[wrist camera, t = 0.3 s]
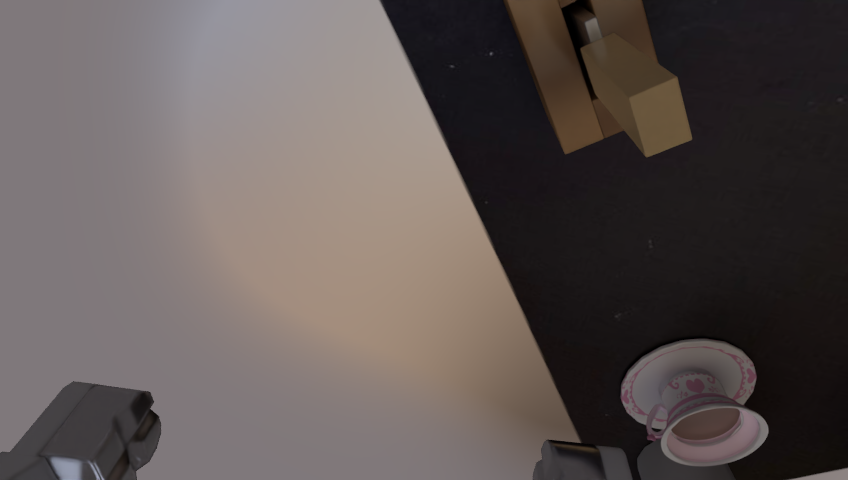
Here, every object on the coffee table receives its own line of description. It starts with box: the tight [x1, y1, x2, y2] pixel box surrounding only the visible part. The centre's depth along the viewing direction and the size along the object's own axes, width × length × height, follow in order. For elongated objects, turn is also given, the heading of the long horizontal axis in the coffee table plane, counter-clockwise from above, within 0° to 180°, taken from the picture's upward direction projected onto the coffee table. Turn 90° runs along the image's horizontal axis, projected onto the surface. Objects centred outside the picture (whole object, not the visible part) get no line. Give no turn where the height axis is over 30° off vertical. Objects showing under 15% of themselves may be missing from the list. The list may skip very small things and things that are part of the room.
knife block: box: [503, 0, 658, 154], centre depth 30 cm, size 10×6×7 cm, turn 26°
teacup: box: [620, 338, 768, 466], centre depth 46 cm, size 12×12×6 cm
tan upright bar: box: [561, 2, 692, 157], centre depth 25 cm, size 4×2×18 cm, turn 26°
